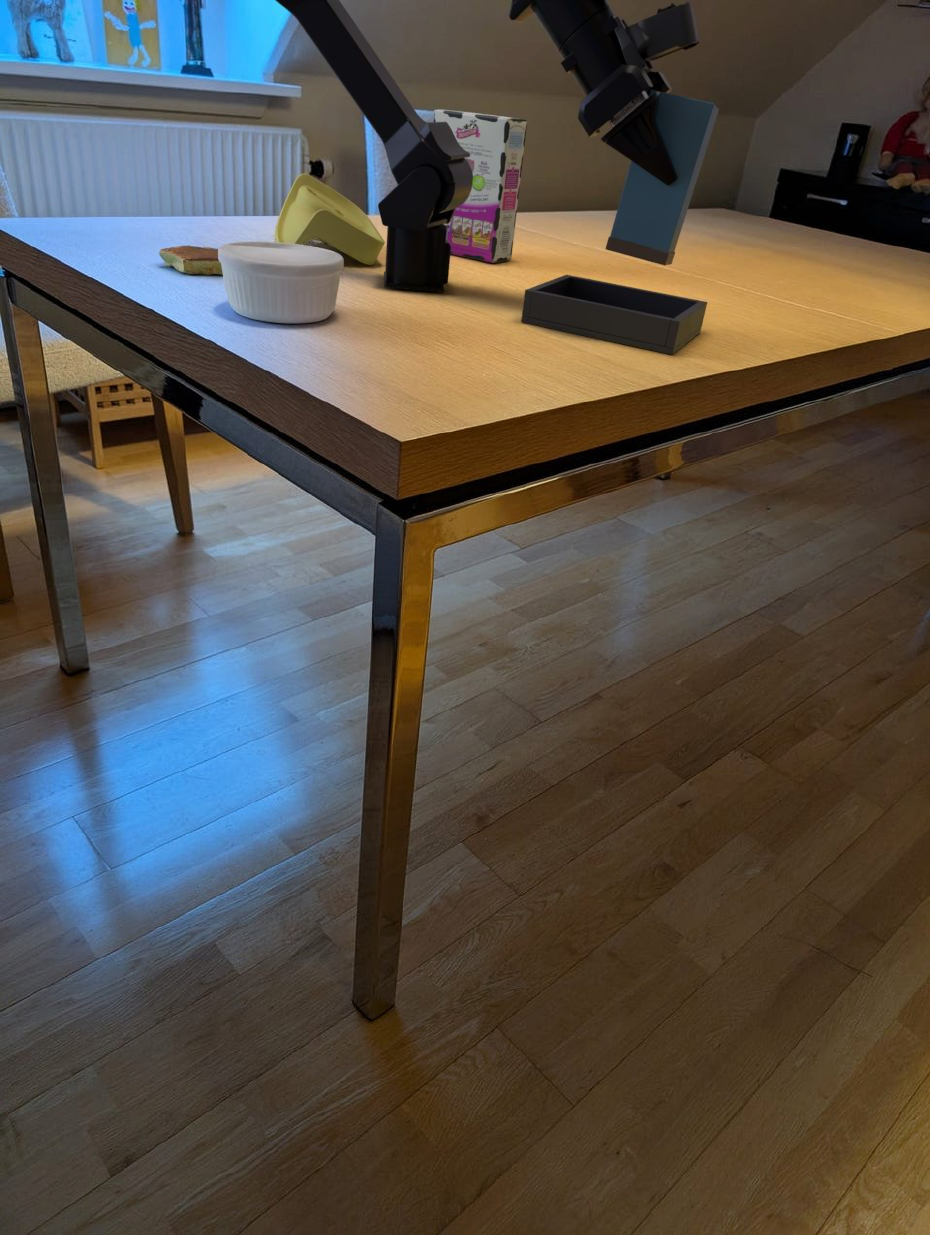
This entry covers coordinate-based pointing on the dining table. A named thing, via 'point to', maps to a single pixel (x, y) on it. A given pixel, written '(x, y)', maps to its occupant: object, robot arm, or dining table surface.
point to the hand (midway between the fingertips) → (675, 180)
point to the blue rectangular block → (650, 204)
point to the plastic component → (327, 221)
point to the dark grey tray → (614, 313)
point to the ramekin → (280, 280)
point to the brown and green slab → (192, 259)
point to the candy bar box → (487, 184)
